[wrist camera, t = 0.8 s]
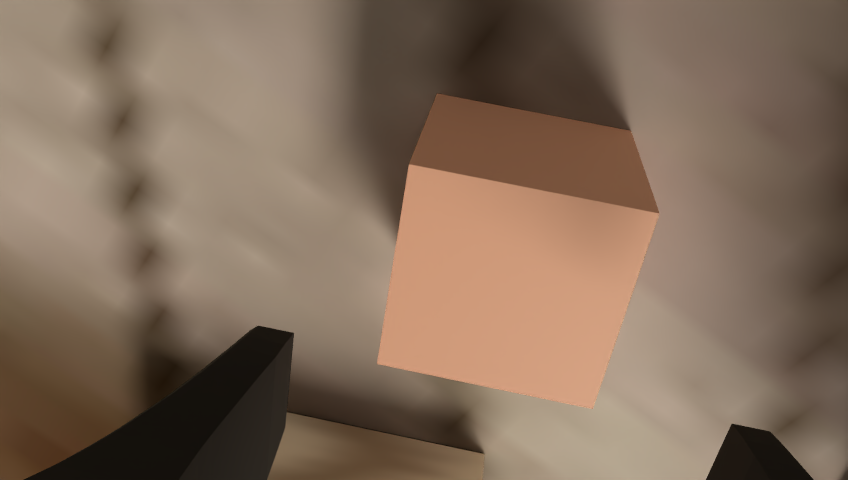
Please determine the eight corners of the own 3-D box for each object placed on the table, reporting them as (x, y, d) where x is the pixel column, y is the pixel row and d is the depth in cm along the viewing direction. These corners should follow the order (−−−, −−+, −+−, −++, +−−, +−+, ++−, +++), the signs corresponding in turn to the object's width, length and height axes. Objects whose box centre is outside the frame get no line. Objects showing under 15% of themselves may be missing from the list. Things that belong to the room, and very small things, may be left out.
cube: (630, 129, 19) (659, 213, 15) (580, 294, 21) (592, 409, 17) (437, 92, 19) (408, 164, 15) (408, 259, 22) (376, 363, 17)
